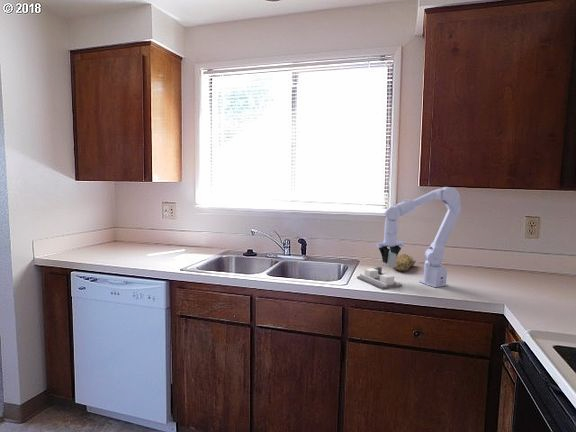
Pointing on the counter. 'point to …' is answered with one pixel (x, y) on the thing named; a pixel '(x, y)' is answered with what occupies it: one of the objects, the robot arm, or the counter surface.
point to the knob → (378, 269)
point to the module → (390, 260)
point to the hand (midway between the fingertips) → (388, 262)
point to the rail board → (379, 279)
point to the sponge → (404, 262)
